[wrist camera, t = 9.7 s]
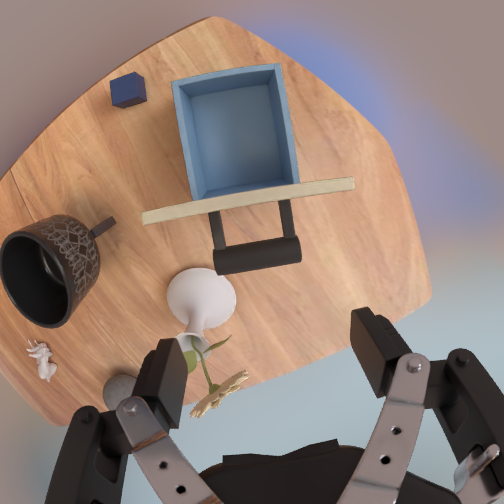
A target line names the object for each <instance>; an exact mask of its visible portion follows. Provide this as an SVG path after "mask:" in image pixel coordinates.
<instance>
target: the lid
mask: <svg viewBox="0 0 504 504" xmlns="http://www.w3.org/2000/svg"><path fill="white" fill-rule="evenodd" d="M352 190H355V185H354V179H353V177H345V178H336V179H328V180H320V181H312V182H304V183H297V184H290V185H283V186H276V187H270V188H263V189H257V190H251V191H245V192H239V193H234V194H228V195H223V196H217V197H212V198H207V199H202V200H196V201H191V202H187V203H182V204H177V205H172V206H168V207H163V208H159V209H154V210H150V211H145V212H142V213H141V217H142V222H143V225H144V226H145V225H150V224H154V223H159V222H164V221H169V220H173V219H178V218H183V217H188V216H193V215H199V214H204V213H208V215H209V221H210V226H211V232H212V237H213V242H214V248H215V249H213V261H214V267H215V271H216V273H217V275H218V276H222V275H228V274H234V273H240V272H246V271H252V270H258V269H264V268H270V267H276V266H282V265H287V264H293V263H299V262H301V260H302V253H301V246H300V242H299V239H298V236H297V235H295V229H294V223H293V216H292V210H291V203H290V199H292V198H299V197H306V196H313V195H320V194H328V193H336V192H343V191H352ZM273 201H278V204H279V210H280V216H281V223H282V229H283V236H284V237H280V238H274V239H268V240H262V241H256V242H251V243H245V244H239V245H233V246H227V247H226V242H225V237H224V231H223V226H222V220H221V215H220V210H225V209H231V208H237V207H243V206H248V205H254V204H260V203H267V202H273Z"/></svg>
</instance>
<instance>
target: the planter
mask: <svg viewBox="0 0 504 504" xmlns="http://www.w3.org/2000/svg"><path fill="white" fill-rule="evenodd" d="M114 224H116V222H115V220H114V218H113V217H110V218H109V219H107V220H106V221H104V222H102V223H101V224H99V225H98V226H96V227H94V228H93V229H91V230H90V231H89V229H88V228H87V227H86V226H85V225H84V224H83V223H81V222H80V221H79V220H77V219H76V218H74V217H71V216H69V215H54V216H51V217H48V218H46V219H43V220H41V221H38V222H36V223H34V224H31V225H29V226H26V227H24V228H22V229H20V230H17V231H15V232H13V233H11V234H10V235H8V236H7V238H6V239H5V240H4V242H3V243H2V246H1V249H0V276H1V279H2V283H3V285H4V288H5V290H6V292H7V294H8V296H9V298H10V300H11V301H12V303H13V304H14V306H15V307H16V308H17V309H18V310H19V312H20V313H21V314H22V315H23V316H25V317H26V318H27V319H28V320H30V321H31V322H33V323H34V324H36V325H38V326H41V327H44V328H52V329H53V328H58V327H60V326H62V325H64V324H65V323H66V322H67V321H68V319H69V318H70V316H71V315H72V314H73V312H74V311H75V309H76V308H77V307H78V305H79V304H80V303H81V301H82V300H83V299H84V297H85V296H86V295H87V293H88V292H89V291H90V289H91V288H92V287H93V285H94V284H95V283H96V281H97V279H98V276H99V272H100V253H99V249H98V246H97V243H96V241H95V238H97V237H98V236H99V235H101V234H102V233H103V232H105V231H106V230H108V229H109V228H110V227H112V226H113V225H114Z"/></svg>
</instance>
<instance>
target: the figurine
mask: <svg viewBox="0 0 504 504" xmlns="http://www.w3.org/2000/svg"><path fill="white" fill-rule="evenodd" d="M27 340H28V341H29V339H27ZM35 343H36V340H35ZM29 344H30V346H31V347H32V349H27V348H26V349H27V350H28V351H30V352H35V354H29V355H28V356H32V357H34V358H37V364H39V366H38V373H39V375H40V377H41V379H47V381H48V382H50V377H51V376H52V375H53V374H54V373H55V371H56V369H57V366H56V364H54V363H48V358H49V357H50V356H52V355H53V353H52V352H49V350H50V349H48V348H47V346H46V344H45V343H41V344H38V343H36V344H37V345H38V346H36V347H34V346H33V345H32V344H31V343H30V341H29Z"/></svg>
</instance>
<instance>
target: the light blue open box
mask: <svg viewBox="0 0 504 504" xmlns="http://www.w3.org/2000/svg"><path fill="white" fill-rule="evenodd" d="M171 85H172V92H173V98H174V104H175V110H176V116H177V122H178V128H179V133H180V139H181V144H182V150H183V155H184V160H185V166H186V171H187V176H188V181H189V186H190V190H191V195H192V200H193V201H196V200H202V199H207V198H212V197H217V196H223V195H228V194H234V193H239V192H245V191H251V190H257V189H263V188H270V187H276V186H283V185H290V184H297V183H300V179H299V171H298V164H297V157H296V150H295V143H294V137H293V131H292V125H291V119H290V113H289V107H288V101H287V96H286V90H285V85H284V80H283V75H282V69H281V65H280V63H275V64H265V65H256V66H248V67H241V68H234V69H228V70H222V71H217V72H211V73H206V74H202V75H197V76H192V77H188V78H184V79H180V80H176V81H172V82H171Z"/></svg>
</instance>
